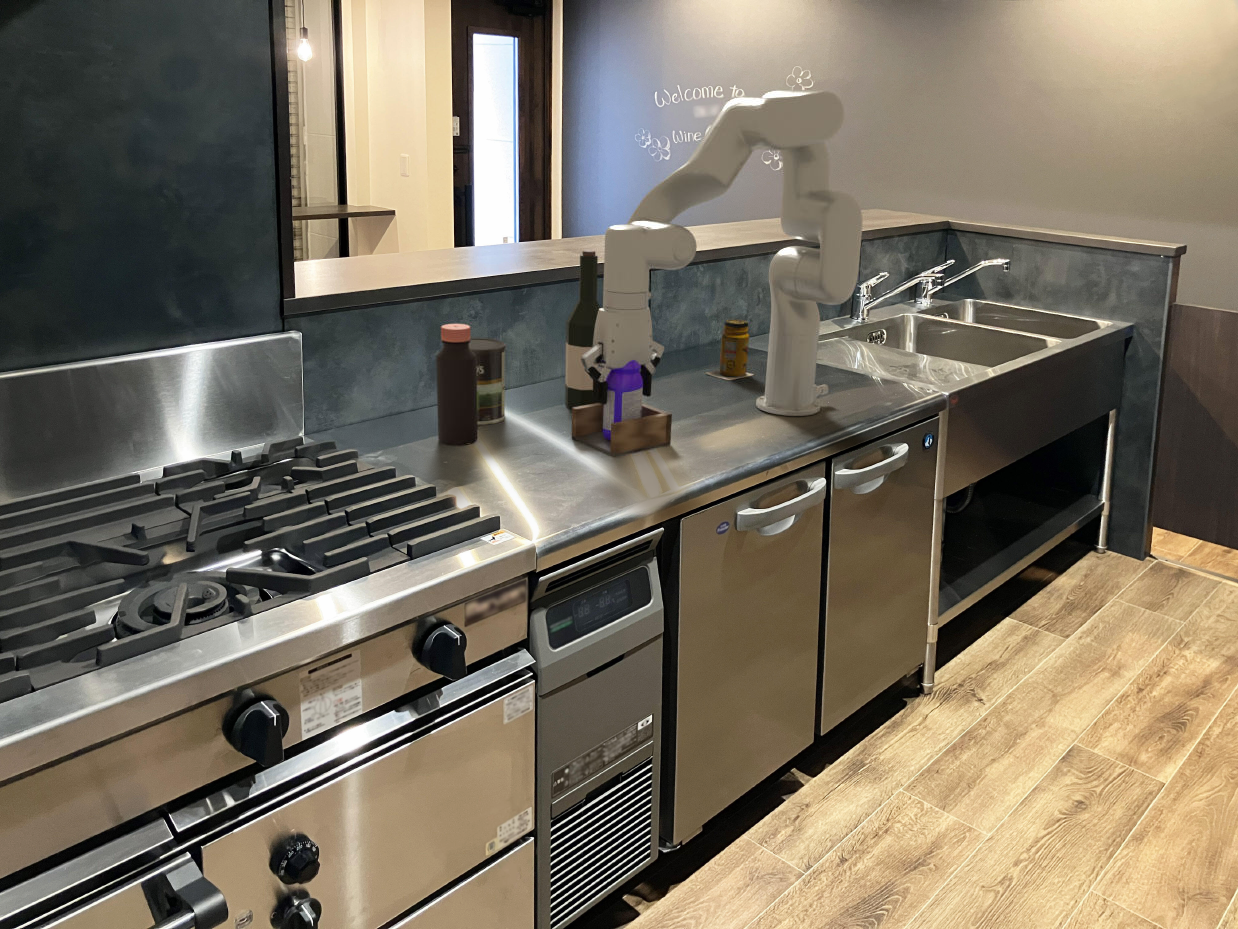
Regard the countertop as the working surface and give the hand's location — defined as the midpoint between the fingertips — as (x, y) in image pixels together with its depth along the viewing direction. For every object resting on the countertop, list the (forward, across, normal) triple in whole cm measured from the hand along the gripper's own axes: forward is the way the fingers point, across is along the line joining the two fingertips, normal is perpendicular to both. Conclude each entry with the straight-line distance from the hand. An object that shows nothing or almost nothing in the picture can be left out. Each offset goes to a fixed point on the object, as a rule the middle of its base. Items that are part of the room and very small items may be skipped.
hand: (622, 398), depth 180 cm
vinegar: (+8, +24, -16) cm, 30 cm away
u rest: (+8, 0, 0) cm, 8 cm away
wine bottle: (+8, -8, -22) cm, 25 cm away
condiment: (+8, -50, -25) cm, 57 cm away
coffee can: (+8, +14, -26) cm, 30 cm away
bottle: (+7, 0, 0) cm, 7 cm away
